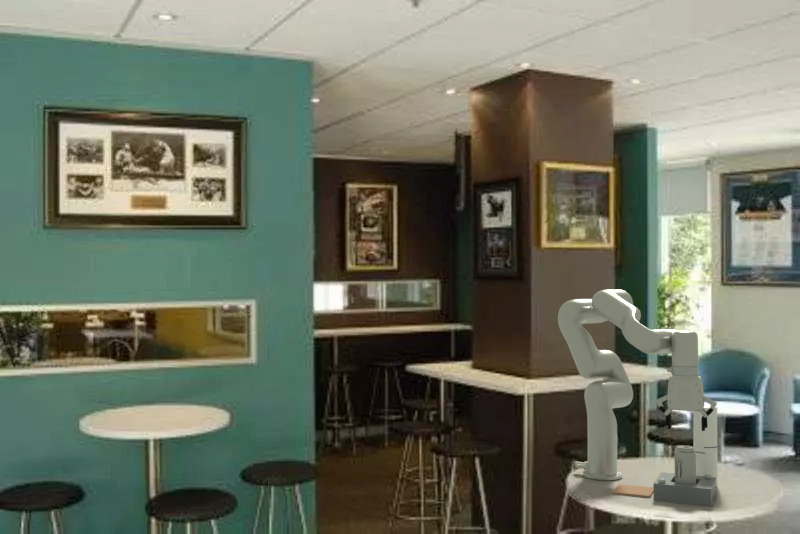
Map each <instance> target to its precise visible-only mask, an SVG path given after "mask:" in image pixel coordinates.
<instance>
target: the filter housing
mask: <svg viewBox="0 0 800 534" xmlns="http://www.w3.org/2000/svg"><path fill="white" fill-rule="evenodd" d="M653 488H654V492H653V501H654V500H655V502H663V501H665V502H666V503H674V504H683V505H692V506H702V507H709V508H710V507H711V508H712V506H713V504H714V501H715V498H716V496H717V488H716V477H712V475H710V474H705V476H696V484H687V483H677V482H675V472H674V473H672V472H660V473H659V475H658V477H657V478H656V480H654V482H653Z"/></svg>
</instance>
